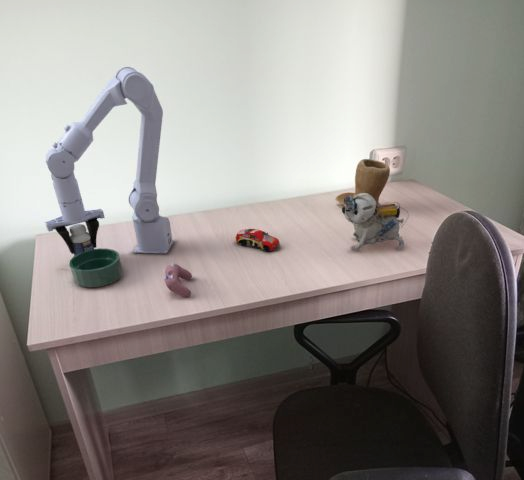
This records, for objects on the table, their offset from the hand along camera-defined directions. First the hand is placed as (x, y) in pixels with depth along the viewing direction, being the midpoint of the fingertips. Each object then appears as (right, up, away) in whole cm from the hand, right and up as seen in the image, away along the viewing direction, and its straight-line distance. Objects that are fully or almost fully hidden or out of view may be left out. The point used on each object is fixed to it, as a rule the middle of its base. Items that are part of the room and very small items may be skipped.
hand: (83, 249), depth 132 cm
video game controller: (+28, -12, -11) cm, 32 cm away
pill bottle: (0, -3, +2) cm, 4 cm away
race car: (+47, +2, +6) cm, 47 cm away
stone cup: (+80, +18, +25) cm, 85 cm away
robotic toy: (+78, +1, +4) cm, 78 cm away
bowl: (+6, -8, -5) cm, 12 cm away
